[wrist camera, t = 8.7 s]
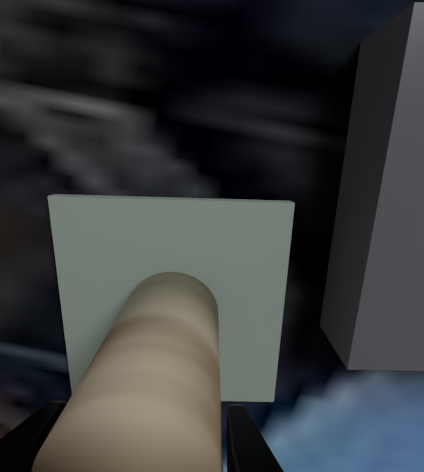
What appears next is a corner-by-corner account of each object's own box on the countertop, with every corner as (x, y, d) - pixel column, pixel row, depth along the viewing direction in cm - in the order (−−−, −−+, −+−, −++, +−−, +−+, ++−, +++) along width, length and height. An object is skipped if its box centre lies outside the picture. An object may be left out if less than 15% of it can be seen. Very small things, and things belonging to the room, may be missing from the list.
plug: (216, 354, 13) (219, 556, 7) (128, 351, 13) (43, 552, 7) (220, 273, 12) (227, 417, 6) (124, 270, 12) (17, 411, 6)
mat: (271, 392, 15) (273, 402, 15) (77, 388, 15) (72, 397, 15) (290, 200, 13) (294, 203, 12) (55, 194, 12) (47, 196, 12)
